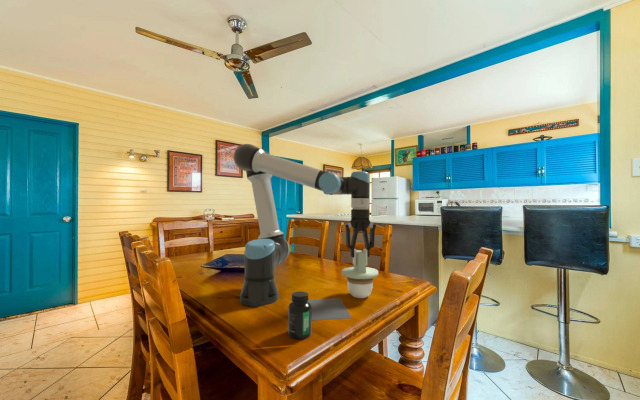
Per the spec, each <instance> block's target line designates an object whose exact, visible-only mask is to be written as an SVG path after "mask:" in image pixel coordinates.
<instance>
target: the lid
mask: <svg viewBox="0 0 640 400" xmlns="http://www.w3.org/2000/svg"><path fill="white" fill-rule="evenodd" d="M341 275H342V276H343V277H345V278H347V277H348V278H353V279H371V278H373V279H374V278H377V277H378V276H379V270H378V269H377V268H374V267H373V268H372V267H369V266H367V265H366V253H365V252H364V250H361V249H356V266H354V265H353V266H349V267H345V268H343V269H341Z"/></svg>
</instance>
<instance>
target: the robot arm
mask: <svg viewBox="0 0 640 400" xmlns="http://www.w3.org/2000/svg"><path fill="white" fill-rule="evenodd" d="M233 161H234V164H235V166H236V167H238V168H239V169H240V170H242V171H244V172H246V179H247V181H249V182H250V183H251V188H252V193H253V199H254V203H255V204H254V205H255V211H256V216H257V220H258V227H259V232H260V234H259V235H258V236H257V239H253V240H250V241H248V242H246V243H245V246H244V255H243V256H244V280H243V281H244V282H243V284H242V287H241V290H240V294H239V303H240V304H241V305H243V306H246V307H263V306H269V305H271V304H274V303H276V302H277V301H278V300H279V297H280V295H279V289H278V287H277V284H276V283H277V282H276V280H275V267H276V266H278V265H280V264H282V263H284V262H285V261H286V260H287V259H288V257H289V256H290V255H289V254H290V253H291V252H290V251H291V250H290V244H289V242H288V241H287V240H286V239H285V235H284V234H285V233H284V232H283V231H282V230H281V229H280V226H279V222H278V215H277V209H276V204H275V199H274V194H273V193H274V192H273V189H272V181H271V178H272V177H273V176H274V177H277V178H280V179H284V180H287V181H290V182H294V183H295V184H299V185H303V186H306V187H308V188H312V189H315V190H318V191H321V192H323V194H324V195H327V196H328V195H329V196H333V195H335V196H336V195H340V196H341V195H351V197H350V198H351V200H350V202H351V203H350V207H351V208H352V209H351V210H350V221H349V222H348V223H344V225H343V227H344V229H345V246H346V248H347V249H350V257H351V258H352V265H353V267H354V266H356V250H357V249H356V243H357V239H358V235H359V232H361V233H362V238H363V241H364V242H363V243H364V248H363V252H365V253H366V266H368V258H369V257H370V250H371V249H372V248H374V247H375V232H376V231H375V230H376V228H377V224H376V223H372V222H371V221H370V209H369V208H370V185H371V183H370V174H369V172H367V171H352V172H351V175H350V176H339V175H337V173H335V172H330V171H325V170H322V169H318V168H315V167H312V166H309V165H306V164H303V163H298V162H296V161H293V160H289V159H286V158H282V157H279V156H276V155H273V154H270V153H269V152H268V151H267V150H265V149H263V148H260V147H258V146H255V145H254V144H250V143H244V144H241V145H238V147H237V148H236V149H235V150H234V153H233ZM351 227H352V229H353V231H352V236H351ZM367 229H369V237H368V230H367ZM351 237H352V238H351Z"/></svg>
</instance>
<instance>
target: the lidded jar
mask: <svg viewBox="0 0 640 400" xmlns="http://www.w3.org/2000/svg"><path fill="white" fill-rule="evenodd" d="M346 283H347V289H348V292H349V294H350V295H351V297H354V298H357V299H365V298H368V297H369V296H370V295H371V293H372V291H373V286H374V284H373V283H374V278H371V279H353V278H348V277H346Z"/></svg>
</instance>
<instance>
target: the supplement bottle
mask: <svg viewBox="0 0 640 400" xmlns="http://www.w3.org/2000/svg"><path fill="white" fill-rule="evenodd" d="M308 300H310V299H309V292H307V291H301V290H299V291H298V290H297V291H293V292H292V294H291V302H290V303H289V305H288V308H287V311H288V313H287V315H288V316H287V320H288V321H287V331H288V332H287V333H288V337H289V338H290V339H293V340H296V341H297V340H298V341H302V340H306V339H309V338H310V337H311V336H312V330H313V328H312V306H311V304H310V303H309V302H308Z"/></svg>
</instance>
